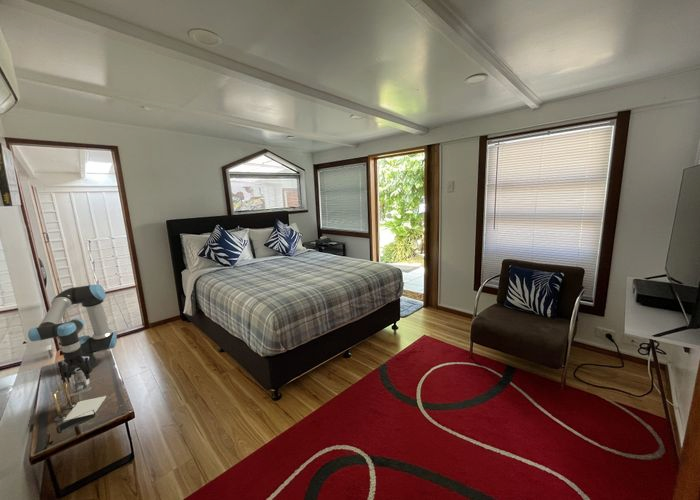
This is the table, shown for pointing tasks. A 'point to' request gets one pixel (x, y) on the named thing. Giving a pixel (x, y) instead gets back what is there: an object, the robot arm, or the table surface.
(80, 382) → the camera
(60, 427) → the phone
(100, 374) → the table surface
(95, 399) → the mat
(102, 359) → the table surface
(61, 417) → the wire frame
